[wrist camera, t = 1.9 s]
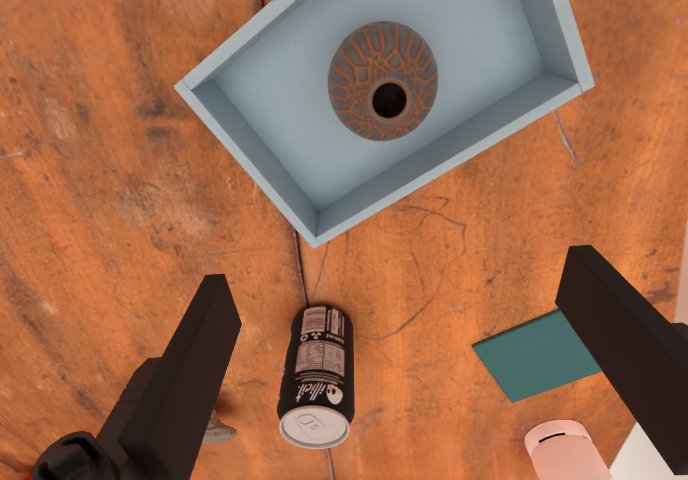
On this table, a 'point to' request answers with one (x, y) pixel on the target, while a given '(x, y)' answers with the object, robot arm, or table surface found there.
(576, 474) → the bottle
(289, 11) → the tray
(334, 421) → the beverage can
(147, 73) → the table surface
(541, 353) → the mat
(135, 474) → the robot arm
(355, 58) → the vase
